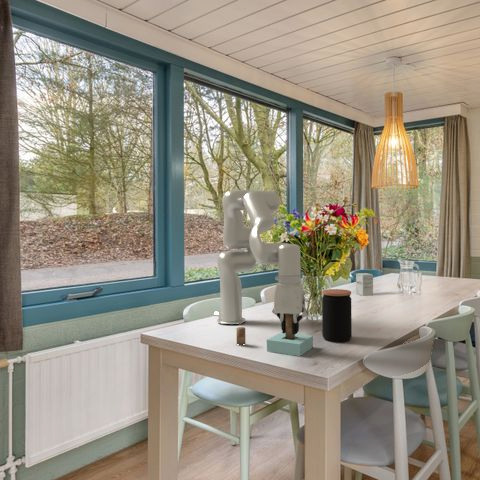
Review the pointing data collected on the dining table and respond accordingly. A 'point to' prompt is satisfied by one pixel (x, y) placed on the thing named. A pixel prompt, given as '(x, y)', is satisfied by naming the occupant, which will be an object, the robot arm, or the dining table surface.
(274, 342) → the hole block
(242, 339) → the short dowel
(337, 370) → the dining table surface
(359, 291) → the supplement box
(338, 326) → the coffee jar
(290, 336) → the long dowel
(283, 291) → the robot arm
